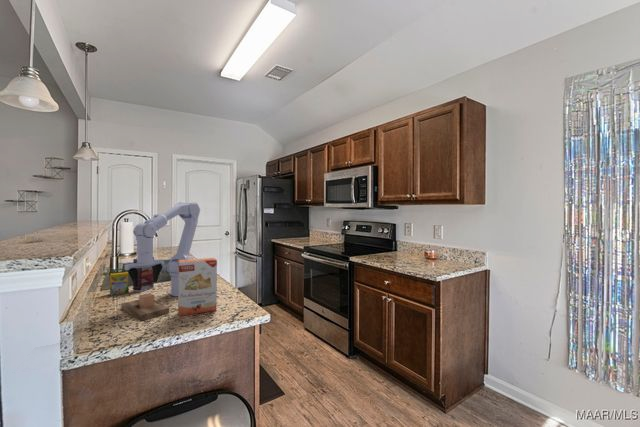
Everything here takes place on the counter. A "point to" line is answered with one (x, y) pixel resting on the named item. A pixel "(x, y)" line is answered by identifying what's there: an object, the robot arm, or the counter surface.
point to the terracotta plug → (146, 300)
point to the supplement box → (144, 278)
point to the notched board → (144, 310)
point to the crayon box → (119, 281)
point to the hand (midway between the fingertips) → (145, 284)
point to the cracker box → (197, 286)
